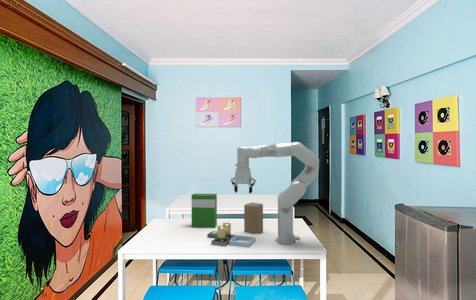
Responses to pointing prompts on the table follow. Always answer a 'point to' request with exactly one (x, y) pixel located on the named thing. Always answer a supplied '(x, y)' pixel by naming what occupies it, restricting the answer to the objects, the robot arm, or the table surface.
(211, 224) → the hardback book
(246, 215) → the wooden block
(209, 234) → the grey button housing
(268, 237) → the table surface
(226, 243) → the metal compartment tray
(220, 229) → the billet
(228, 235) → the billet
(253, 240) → the tray
